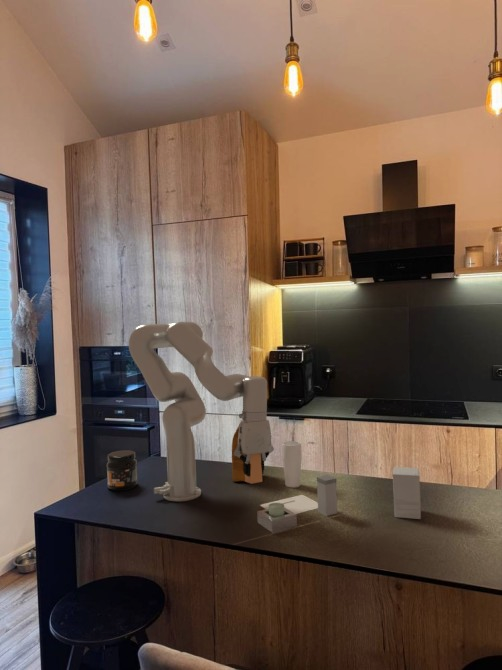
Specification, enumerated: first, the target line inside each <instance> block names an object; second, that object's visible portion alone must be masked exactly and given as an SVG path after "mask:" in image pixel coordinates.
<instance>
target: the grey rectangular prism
mask: <svg viewBox="0 0 502 670" xmlns="http://www.w3.org/2000/svg"><path fill="white" fill-rule="evenodd" d="M316 485H317V487H316V489H317V503H318V509H317V513H319V514H322V516H323V515H324V516H325V517H328V516H332V515H336V514H338V495H337V494H338V493H337V492H338V491H337V490H338V489H337V477H334V476H332V475H329V474H325V475H321V476H316Z"/></svg>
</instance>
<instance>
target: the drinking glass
mask: <svg viewBox="0 0 502 670" xmlns="http://www.w3.org/2000/svg"><path fill="white" fill-rule="evenodd" d="M281 452H282V453H281V454H282V462H283V473H284V482H285V483H284V484H285V487H287V488H299V487H300V486H301V484H302V483H301V481H302V480H301V475H302V459H303V458H302V457H303V452H302V442H301V441H296V440H286V441H283V442H282V445H281Z"/></svg>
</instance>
